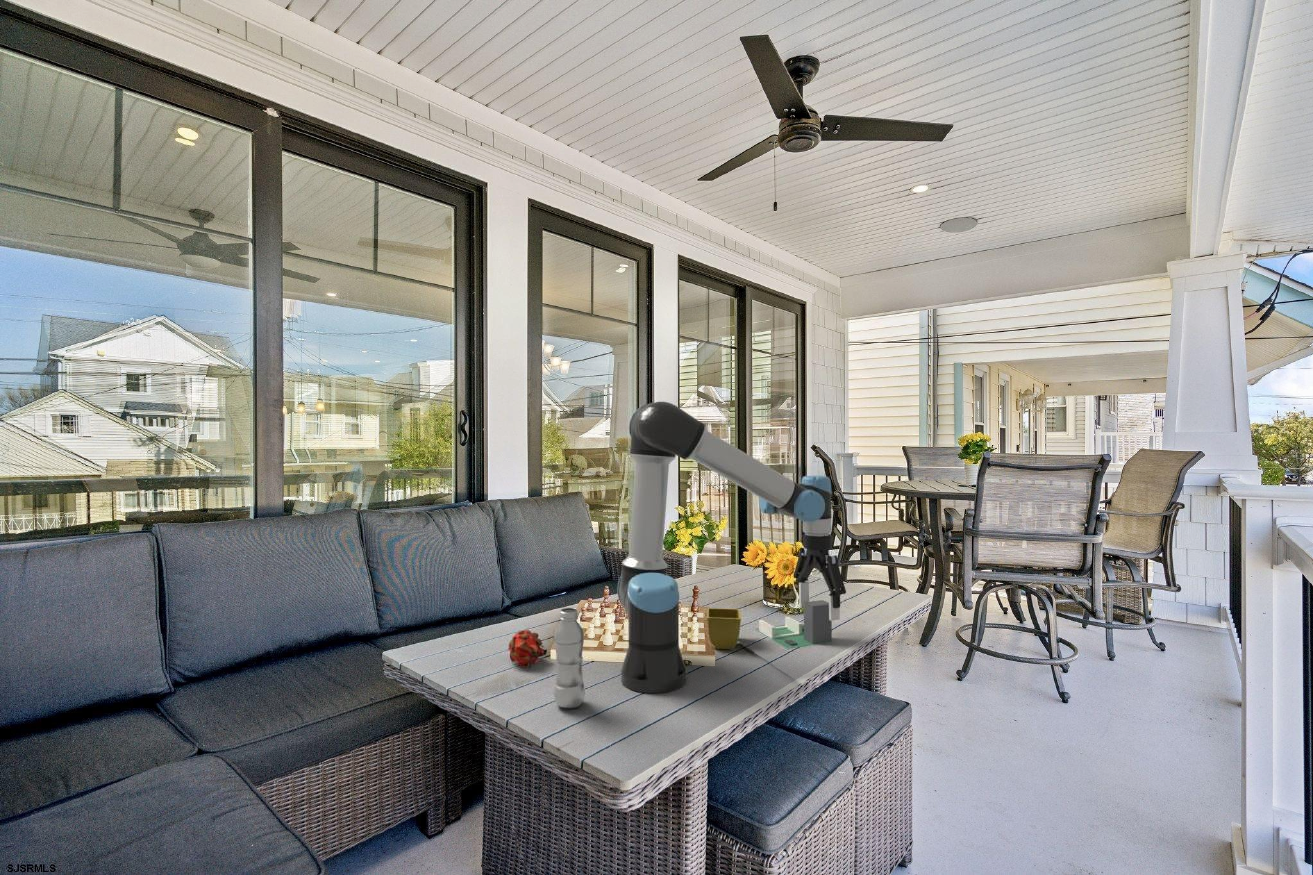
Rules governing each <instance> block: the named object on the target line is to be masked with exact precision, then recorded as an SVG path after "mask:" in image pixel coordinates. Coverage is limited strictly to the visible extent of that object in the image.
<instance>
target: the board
mask: <svg viewBox="0 0 1313 875" xmlns="http://www.w3.org/2000/svg"><path fill="white" fill-rule="evenodd" d="M784 622H785V624H781V625H772V624H770V623H768V622H766V621H765V620H763V619H759V620H758V628H755V631H757V632H759V633H761V634H763V635H764V636H765V637H767V638H769V639H770V640H772V641H774V642H775V643H777V644H778V645H780V646H782V647H783V648H785V649H795V648H796V649H797V648H801V647H810V646H816V645H823V644H827V643H828V644H830V643H836V642H837V641H836V640H834V639H832V641H830V642H824V643H817V644H812V643H810V642H808V641H806V640H804V623H802V622H800V621H798V620H796V619H794V618H792V617H790V616H784Z"/></svg>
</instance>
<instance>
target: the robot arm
mask: <svg viewBox="0 0 1313 875" xmlns="http://www.w3.org/2000/svg"><path fill="white" fill-rule="evenodd" d="M628 431H629V435H630V436H629V437H630V450H629V456H630V457H631V458H632V459H633V460H634V462H635V464H634V465H635V466H634V477H633V478H634V479H633V490H632V491H633V493H632V505H631V519H630V532H629V533H630V534H629V545H628V546H629V548H628V555H627V557H626V558H624V559H623V560H622V562H621V574H620V576H619V579H618V583H617V589H616V590H617V597H618V600H619V602H620V605H621V606H622V608H623V609H624V610H625V613H626V614H627V618H628V621H627V624H628V629H627V632H628V647H627V651H626V654H625V657H624V660H623V663H622V666H621V670H620V671H621V672H620V681H621V683H622V685H623V686H624V687H626V688H628V689H630V690H632V691H635V692H641V693H648V694H656V693H657V694H659V693H660V694H661V693H667V692H673V691H676V690H677V689H680V688H681V687H683V686H684V685H686V682H687V680H688V678H687V667H686V665H685V662H684V658H683V655H682V652H681V649H680V645H679V644H680V643H679V642H680V638H679V636H680V634H679V633H680V632H679V631H680V630H679V629H680V627H679V622H680V620H679V618H680V615H679V612H680V611H679V610H680V609H679V608H680V605H679V604H680V602H679V599H680V591H679V584H678V583H677V581H676V579H675V578H673V577H672V576H670V575H668V568H669V565H668V563H667V562H666V560H664V558H663V554H664V553H663V550H664V539H665V538H664V537H665V524H666V511H667V510H666V509H667V497H668V483H669V481H668V480H669V468H670V465H671V463H672V462H673V461H674V460H676V457H677V456H678V457H679V458H681V459H683V460H685V461H686V460H693V461H694V462H696V463H698V464H700V465H702V466H704V467H705V468H707V469H709V470H711V471H712V472H714V473H715V474H718V475H719V476H721V477H723V478H725V479H726V480H728V481H730V482H731V483H733V484H736V485H737V486H739V487H741V488H742V489H744V490H746V491H748V492H749V493H751V494H753V495H755V496H756V497H758V498H757V499H758V506H759V509H760V511H761V512H762V514H765V515H777V514H778V515H780V514H781V515H784V516H787V517H790V518H794V519H798V520H799V521H802V532H803V535H802V543H803V544H802V546H803V547H799V551H798V552H799V553H798V554H799V555H798V558H797V560H796V561H797V563H796V565H795V569H794V572H793V576H792V577H793V578H794V579H796V581H797V583H798V596H799V597H798V599H799V600H798V601H799V604H798V605H799V608H802V607H803V608H804V602H810V583H809V577H810V576H811V574H812V572H813V570H814V569H816V570H818V571H819V573H821V575H822V576H823V579H824V581H825V583H826V586H827V588H828V591H829V594H828V603H829V620H830V621H832V622H833V621H839V620H840V619H841V618H840V617H841V613H840V612H841V609H840V608H841V596H842V595H845V594H847V589H846V586H845V583H844V580H843V577H842V574H841V573H842V572H841V570H840V567H839V558H838V556H837V555H836V554H835V555H830V552H829V551H830V550H831V549H832V548H833V535H832V534H831V533H832V532H833V530H832V529H833V528H832V527H833V525H832V495H833V492H832V484H831V479H830V477H828V476H825V475H804V476H802V479H801V483H797V482H795V481H793V480H792V479H790V478H789V477H786V476H785V475H783V473H782V474H781V472H778V471H776V470H775V469H774V468H772V467H770V466H768V465H767V464H765V463H762V462H761V461H760V460H758V459H756V458H754V457H752V455H749V454H748V453H746V452H745V451H743V450H740V449H739V448H738V447H735V445H732V444H730V443H729V442H727V441H725V440H724V439H722V438H720V437H718V436H717V435H715V434H714V433H711V432H710V431H709V430H708V429H707V426H706V424H705V423H703V422H701V421H700V420H698V419H696V418H695V417H694V416H692V415H691V414H689V413H687V412H686V411H685V410H683V409H681V407H679V406H677V405H675V404H673V403H671V402H669V401H668V402H667V401H655V402H650V403H647V404H643V405H642V406H640V407H638V408H637V409H636V410H635V412H633V414H632V415H631V418H630V420H629V425H628Z"/></svg>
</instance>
